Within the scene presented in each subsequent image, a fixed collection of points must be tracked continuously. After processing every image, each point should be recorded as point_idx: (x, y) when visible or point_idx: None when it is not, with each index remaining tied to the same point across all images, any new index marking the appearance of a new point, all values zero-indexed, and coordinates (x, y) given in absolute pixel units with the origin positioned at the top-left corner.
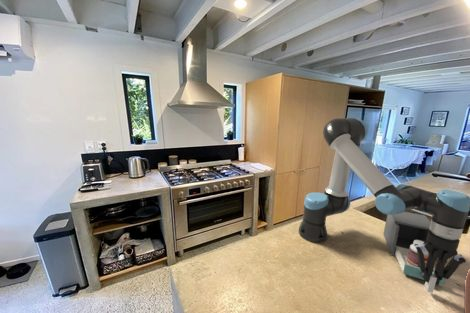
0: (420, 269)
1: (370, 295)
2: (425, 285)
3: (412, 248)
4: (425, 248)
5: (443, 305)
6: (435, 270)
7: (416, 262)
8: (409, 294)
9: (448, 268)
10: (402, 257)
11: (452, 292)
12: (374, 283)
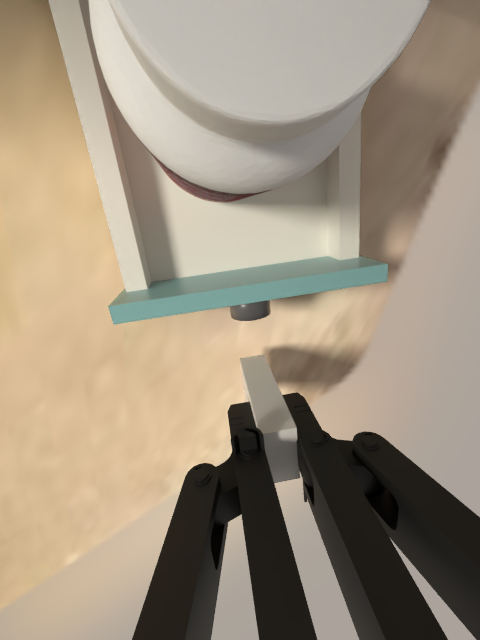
0: (225, 306)
1: (16, 536)
2: (242, 373)
3: (123, 110)
4: (326, 118)
5: None
6: (311, 472)
7: (208, 198)
8: (169, 424)
9: (434, 570)
10: (102, 109)
11: None
12: (10, 460)
